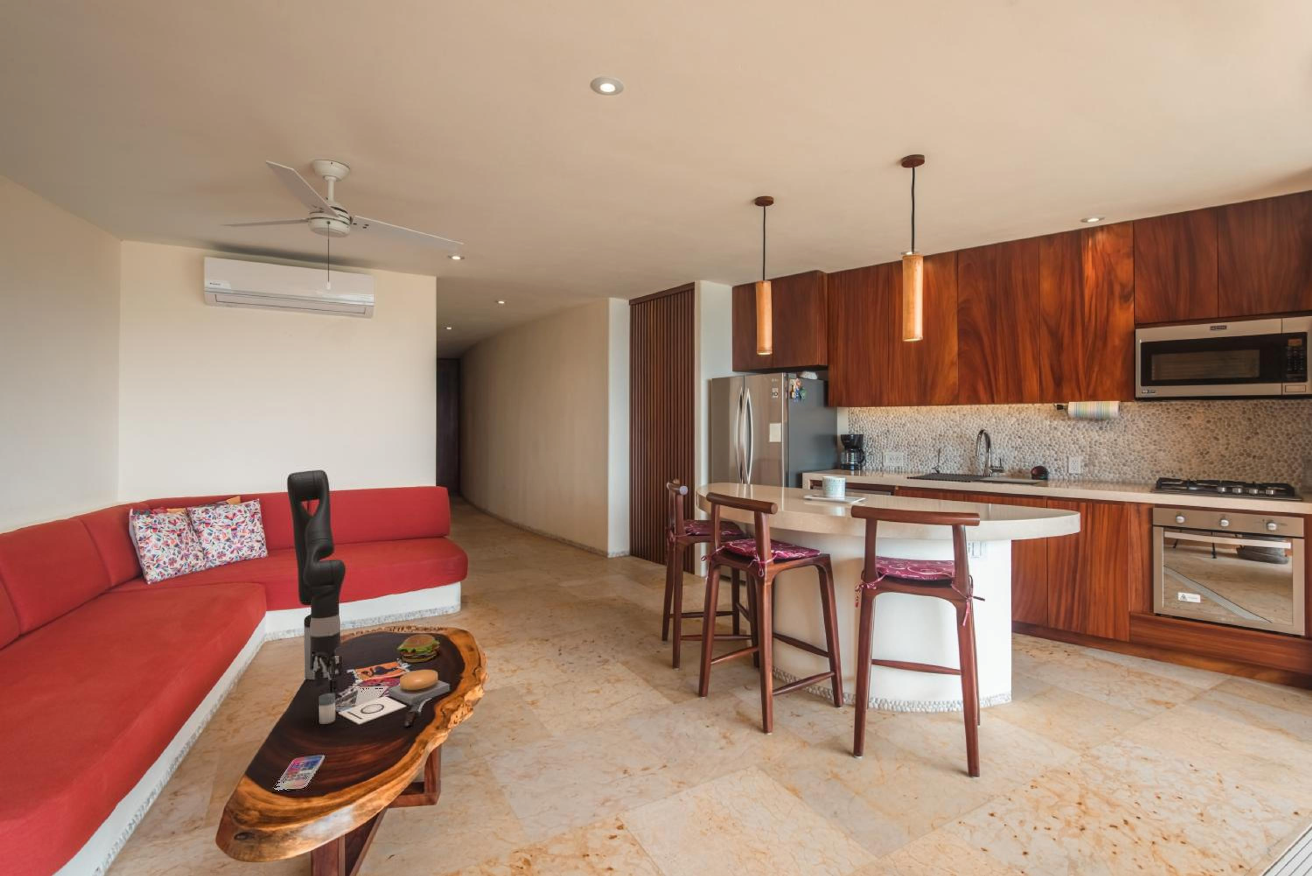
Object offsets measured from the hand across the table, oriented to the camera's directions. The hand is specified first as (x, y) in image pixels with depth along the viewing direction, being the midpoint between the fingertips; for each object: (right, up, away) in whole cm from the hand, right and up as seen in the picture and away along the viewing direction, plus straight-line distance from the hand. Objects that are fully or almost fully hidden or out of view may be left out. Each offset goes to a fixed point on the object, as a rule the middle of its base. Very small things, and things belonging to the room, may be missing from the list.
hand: (326, 689), depth 173 cm
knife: (+23, -9, +8) cm, 26 cm away
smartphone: (+9, -9, -28) cm, 31 cm away
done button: (+19, -6, +18) cm, 27 cm away
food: (+6, -10, +51) cm, 52 cm away
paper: (+10, -9, +7) cm, 15 cm away
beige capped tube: (0, -9, 0) cm, 9 cm away
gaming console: (+3, -10, +17) cm, 20 cm away
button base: (+19, -9, +18) cm, 28 cm away
